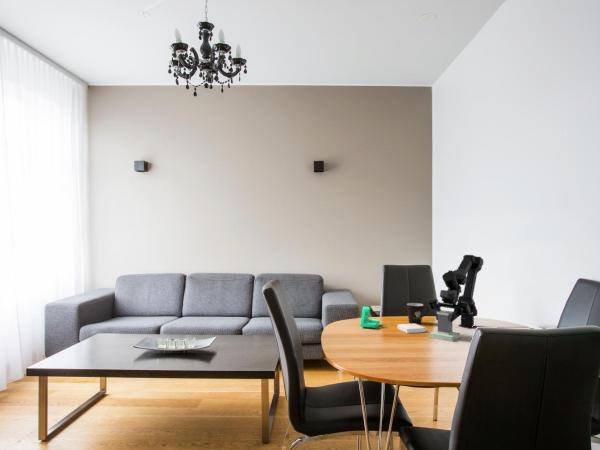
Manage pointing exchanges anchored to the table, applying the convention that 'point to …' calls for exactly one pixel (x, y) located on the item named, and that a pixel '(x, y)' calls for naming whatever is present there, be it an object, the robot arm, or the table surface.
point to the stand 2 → (445, 336)
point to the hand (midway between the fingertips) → (443, 320)
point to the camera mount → (366, 321)
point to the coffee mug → (415, 312)
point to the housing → (444, 322)
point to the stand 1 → (411, 328)
